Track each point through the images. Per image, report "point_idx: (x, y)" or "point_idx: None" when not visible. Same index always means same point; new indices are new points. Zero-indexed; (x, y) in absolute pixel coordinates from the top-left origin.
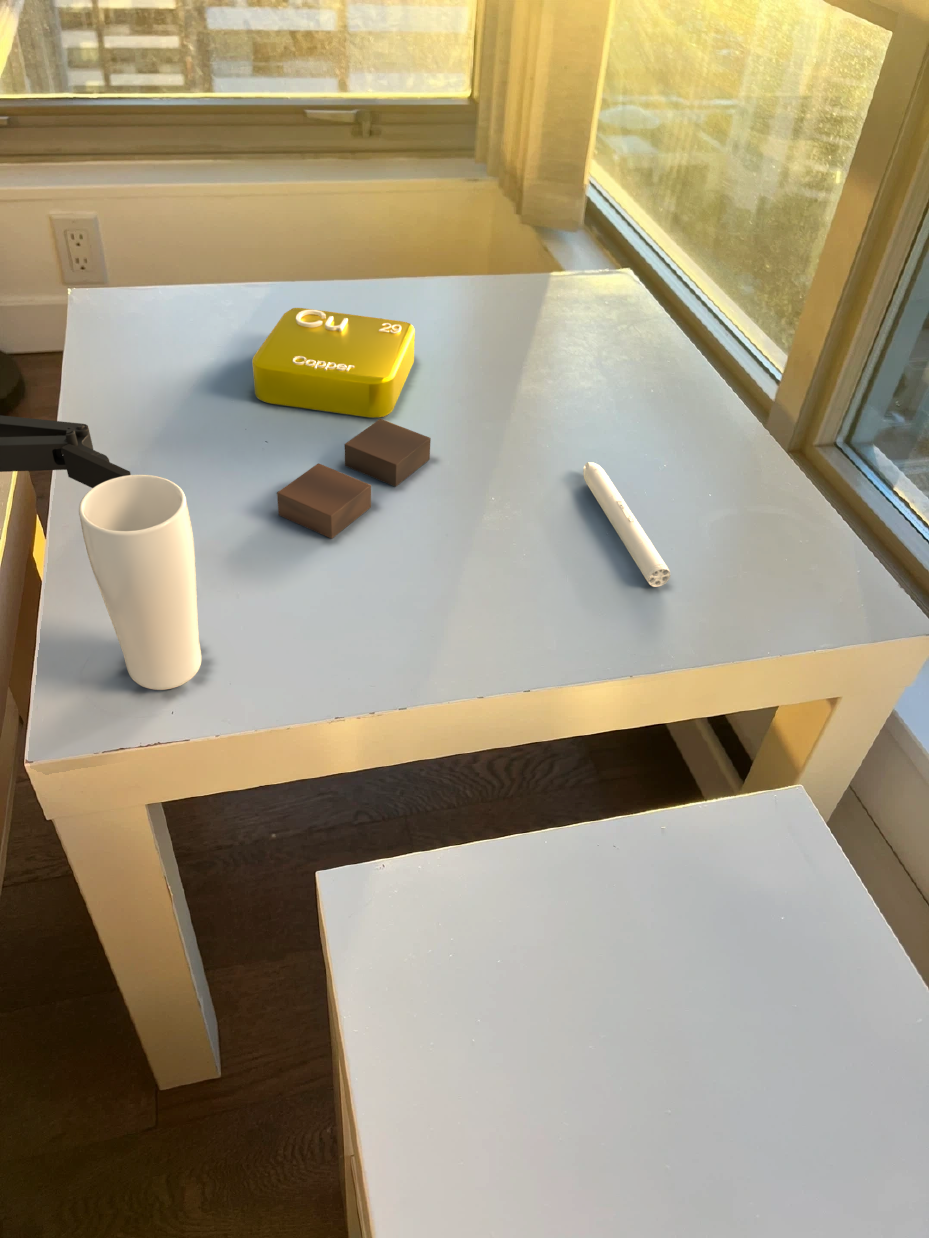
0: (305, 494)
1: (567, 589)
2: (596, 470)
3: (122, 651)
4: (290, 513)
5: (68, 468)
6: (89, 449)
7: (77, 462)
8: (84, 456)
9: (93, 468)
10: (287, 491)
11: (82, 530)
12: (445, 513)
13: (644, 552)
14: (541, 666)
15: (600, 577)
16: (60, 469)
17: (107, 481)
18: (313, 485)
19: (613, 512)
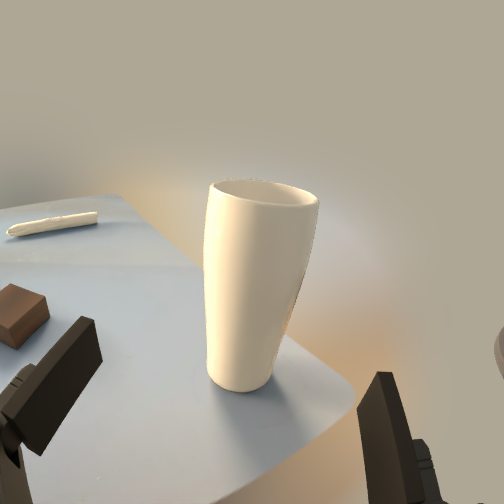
0: (14, 312)
1: (99, 238)
2: (19, 224)
3: (272, 362)
4: (22, 334)
5: (35, 441)
6: (2, 394)
7: (39, 404)
8: (40, 376)
9: (60, 373)
10: (8, 322)
11: (310, 226)
12: (28, 273)
13: (84, 215)
14: (157, 242)
15: (89, 232)
16: (24, 470)
17: (246, 199)
18: (3, 309)
19: (51, 222)
